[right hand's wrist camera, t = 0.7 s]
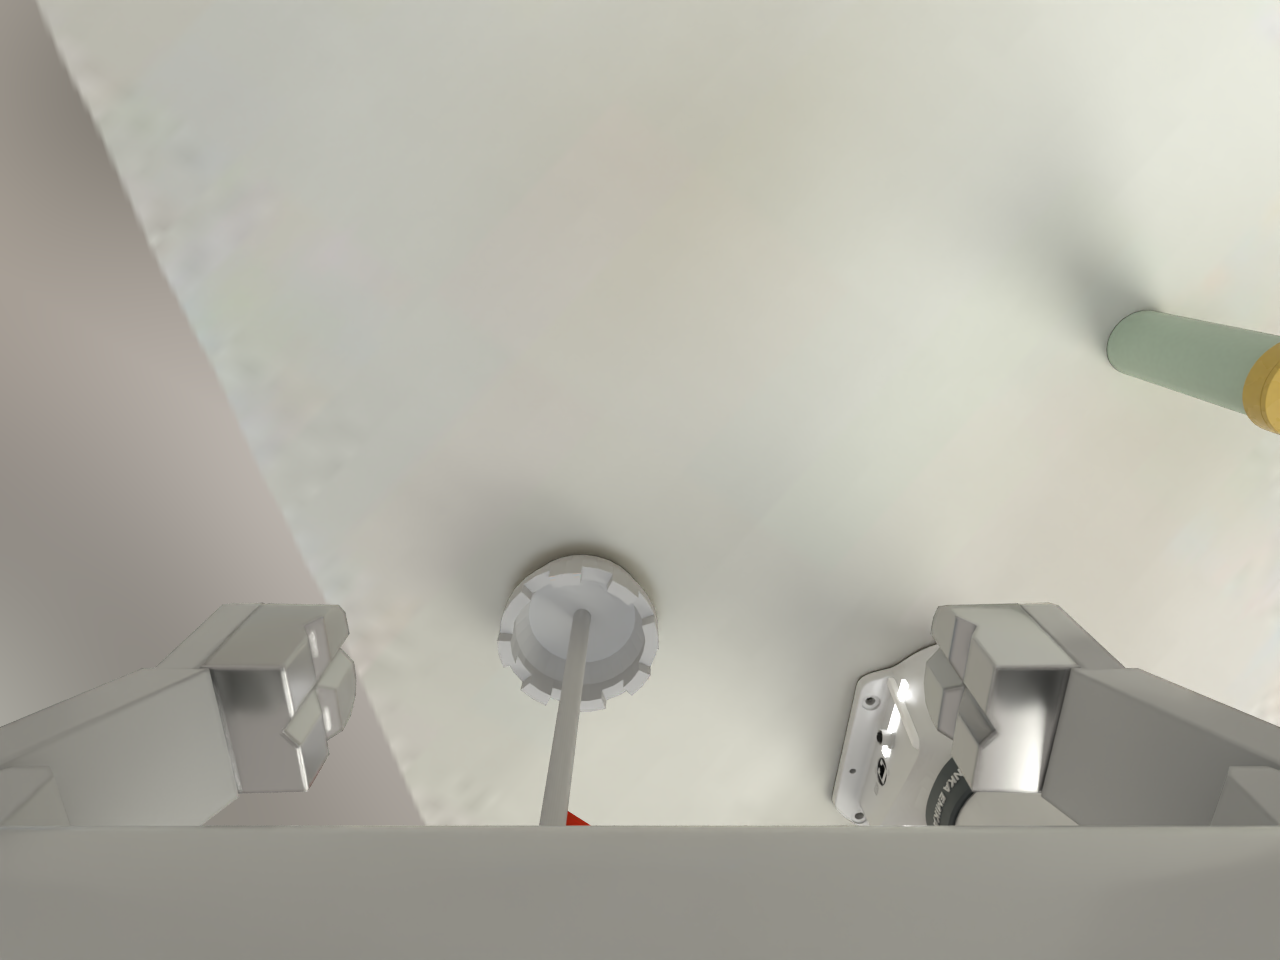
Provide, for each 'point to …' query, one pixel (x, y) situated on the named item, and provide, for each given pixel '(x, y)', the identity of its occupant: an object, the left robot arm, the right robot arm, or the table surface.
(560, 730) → the flag stand
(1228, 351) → the pale green cylinder
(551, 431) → the table surface
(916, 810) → the left robot arm
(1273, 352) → the lid
